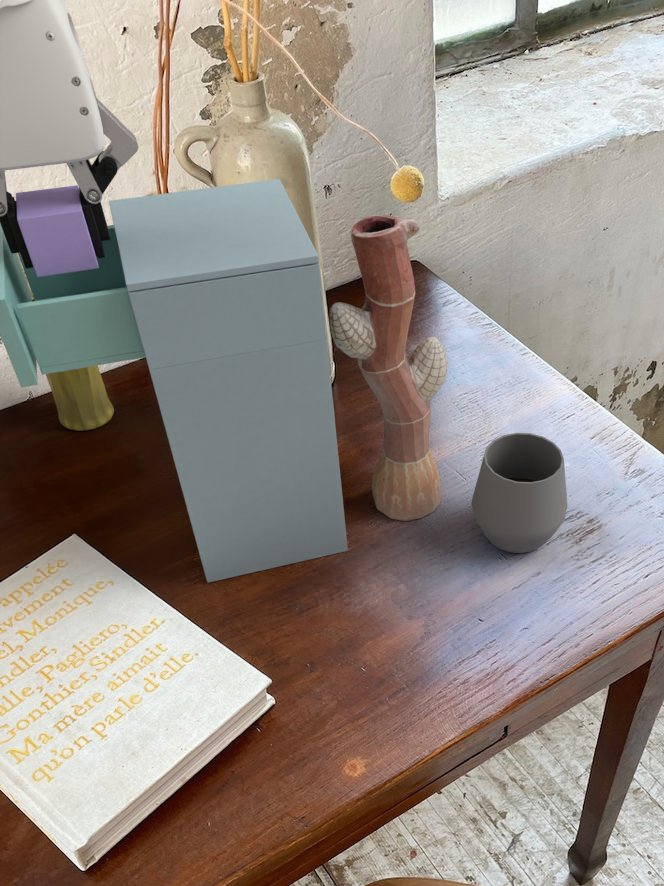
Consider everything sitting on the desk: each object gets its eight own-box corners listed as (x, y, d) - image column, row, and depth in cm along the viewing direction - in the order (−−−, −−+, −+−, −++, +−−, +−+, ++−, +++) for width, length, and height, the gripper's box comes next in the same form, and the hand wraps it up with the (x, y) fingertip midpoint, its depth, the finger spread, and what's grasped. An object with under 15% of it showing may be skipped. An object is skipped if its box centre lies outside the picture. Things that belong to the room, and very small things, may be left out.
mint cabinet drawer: (-51, 401, 66) (-93, 313, 61) (-47, 306, 75) (-83, 222, 69) (209, 356, 70) (191, 271, 65) (184, 272, 79) (166, 190, 74)
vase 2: (444, 474, 99) (447, 200, 76) (449, 519, 94) (454, 241, 71) (347, 478, 98) (321, 202, 76) (347, 524, 93) (320, 244, 71)
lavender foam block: (37, 277, 66) (16, 218, 63) (35, 250, 69) (15, 192, 66) (99, 268, 67) (81, 210, 64) (94, 241, 70) (77, 184, 67)
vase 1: (62, 436, 102) (19, 323, 91) (57, 406, 106) (15, 294, 95) (117, 425, 104) (82, 312, 93) (111, 395, 107) (75, 284, 97)
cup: (468, 564, 89) (472, 487, 82) (471, 501, 96) (474, 424, 88) (564, 568, 89) (576, 492, 82) (561, 505, 95) (571, 428, 88)
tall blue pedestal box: (207, 583, 87) (125, 284, 64) (186, 492, 96) (108, 200, 73) (347, 551, 90) (318, 255, 67) (315, 465, 99) (279, 178, 76)
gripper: (110, -59, 59) (171, 217, 72) (-175, -40, 55) (-54, 248, 68) (122, -29, 54) (185, 261, 68) (-190, -5, 50) (-57, 297, 64)
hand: (64, 252), depth 68 cm, fingers closed on lavender foam block, 4 cm apart
